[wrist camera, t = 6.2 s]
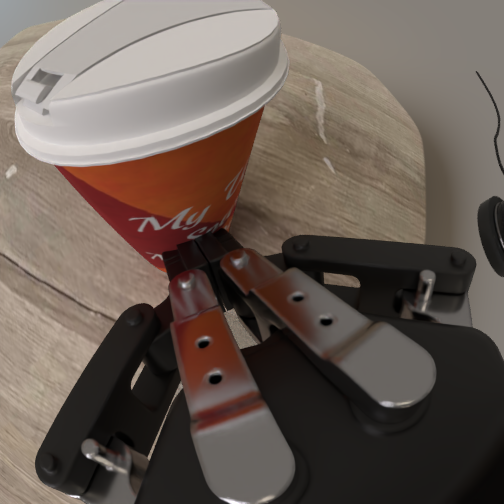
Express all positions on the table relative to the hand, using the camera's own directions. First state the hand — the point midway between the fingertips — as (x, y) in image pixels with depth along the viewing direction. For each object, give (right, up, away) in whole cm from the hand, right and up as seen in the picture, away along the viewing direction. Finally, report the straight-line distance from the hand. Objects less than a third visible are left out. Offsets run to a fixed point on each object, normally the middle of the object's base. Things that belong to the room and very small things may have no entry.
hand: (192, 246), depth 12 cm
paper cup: (-2, +1, +5) cm, 6 cm away
